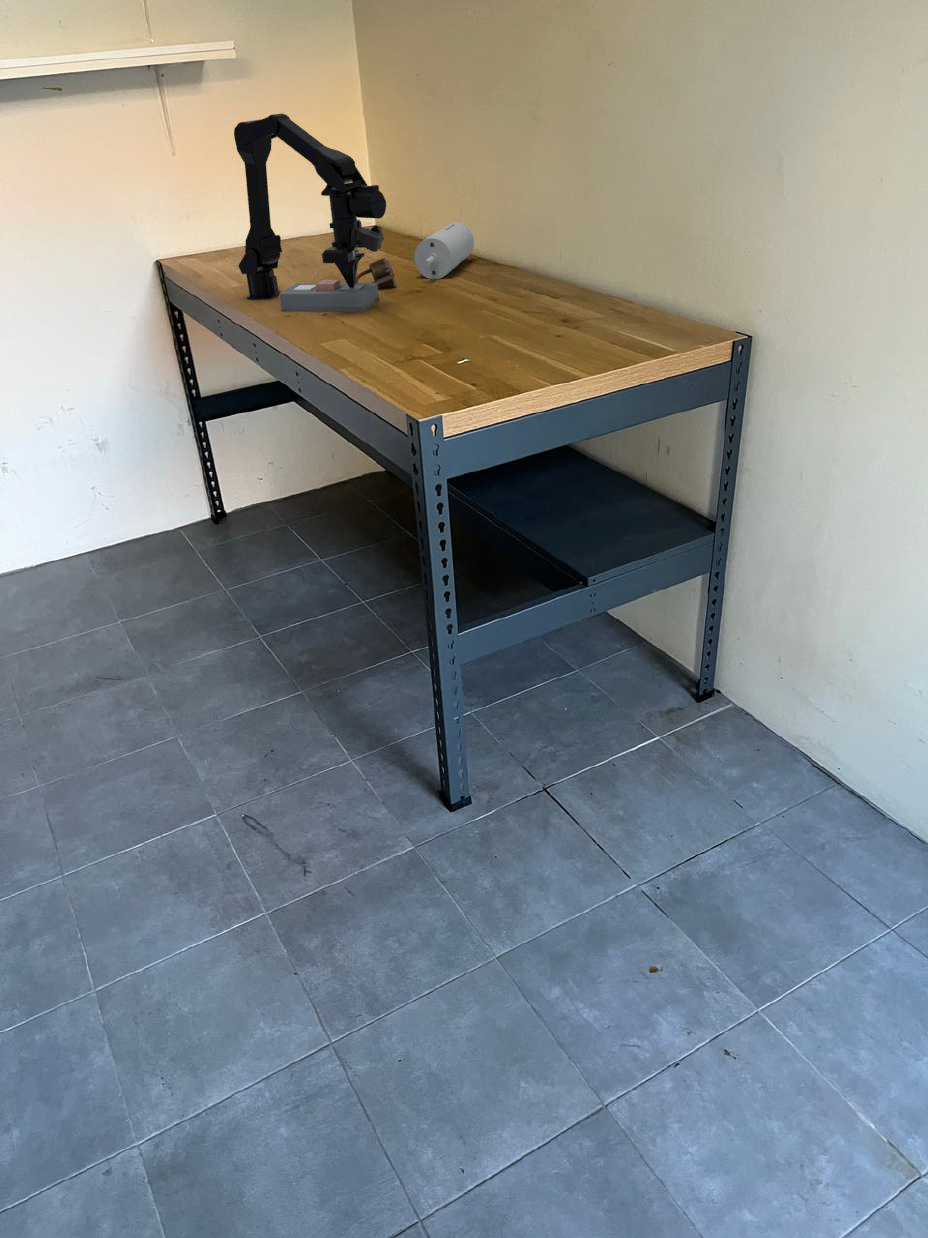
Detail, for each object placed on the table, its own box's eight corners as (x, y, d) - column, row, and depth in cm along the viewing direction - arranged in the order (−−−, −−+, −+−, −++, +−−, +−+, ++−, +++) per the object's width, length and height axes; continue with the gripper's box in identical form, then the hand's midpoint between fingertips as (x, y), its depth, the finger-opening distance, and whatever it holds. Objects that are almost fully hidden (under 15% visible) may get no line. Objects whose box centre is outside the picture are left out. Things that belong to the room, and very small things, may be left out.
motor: (446, 284, 240) (444, 242, 234) (409, 284, 242) (405, 242, 237) (477, 259, 264) (475, 220, 259) (442, 259, 267) (440, 221, 261)
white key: (295, 302, 226) (293, 289, 224) (301, 297, 229) (300, 284, 228) (312, 302, 225) (310, 289, 223) (318, 297, 228) (316, 284, 227)
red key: (317, 296, 224) (315, 283, 222) (324, 292, 227) (322, 279, 226) (334, 296, 223) (333, 283, 221) (341, 292, 226) (339, 279, 225)
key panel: (281, 310, 224) (279, 293, 222) (298, 299, 233) (296, 283, 231) (364, 311, 219) (362, 293, 217) (378, 299, 228) (377, 282, 226)
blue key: (341, 302, 223) (340, 289, 221) (348, 297, 227) (346, 284, 225) (359, 302, 222) (357, 289, 220) (365, 297, 226) (363, 284, 224)
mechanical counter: (393, 270, 232) (398, 252, 239) (342, 266, 233) (349, 249, 240) (394, 297, 237) (399, 279, 244) (344, 294, 238) (351, 276, 245)
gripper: (364, 223, 205) (371, 296, 213) (389, 209, 220) (395, 278, 229) (317, 224, 207) (326, 296, 216) (345, 210, 223) (352, 278, 231)
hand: (351, 287), depth 223 cm, fingers closed, pressing on blue key
